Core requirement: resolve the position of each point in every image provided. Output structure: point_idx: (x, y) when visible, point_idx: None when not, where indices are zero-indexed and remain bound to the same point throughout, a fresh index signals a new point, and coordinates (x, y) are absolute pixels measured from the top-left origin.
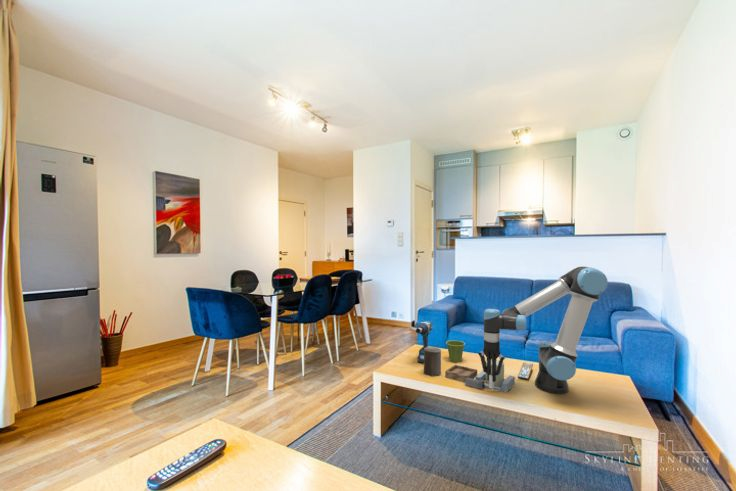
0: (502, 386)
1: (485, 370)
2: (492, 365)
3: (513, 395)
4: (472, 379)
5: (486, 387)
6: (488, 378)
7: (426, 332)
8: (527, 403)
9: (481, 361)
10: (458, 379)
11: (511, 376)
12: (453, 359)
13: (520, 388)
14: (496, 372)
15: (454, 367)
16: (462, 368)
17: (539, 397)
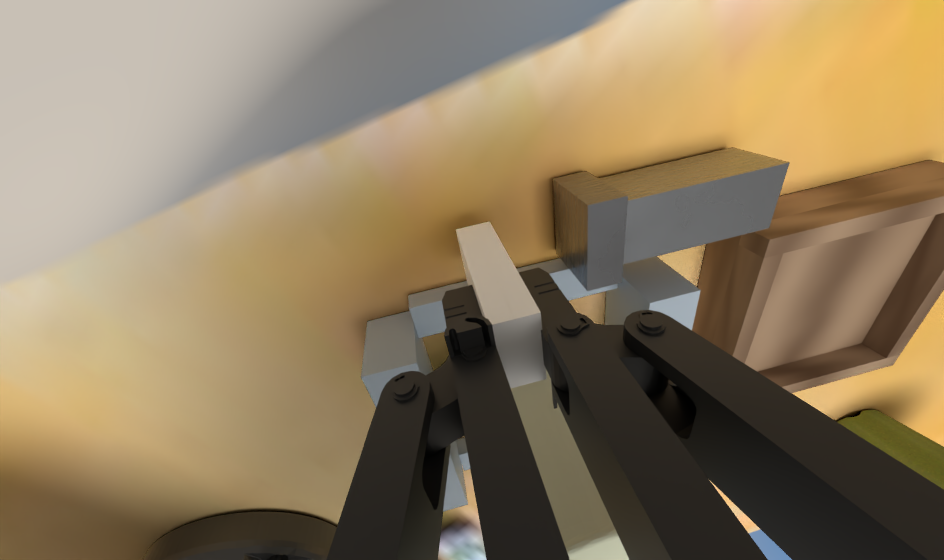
0: (406, 341)
1: (642, 341)
2: (551, 540)
3: (289, 318)
4: (708, 223)
5: (542, 264)
6: (537, 286)
7: None
8: (64, 278)
9: (940, 494)
10: (815, 194)
11: (447, 502)
12: (877, 425)
13: (355, 441)
14: (417, 411)
15: (895, 324)
16: (820, 362)
17: (154, 436)
